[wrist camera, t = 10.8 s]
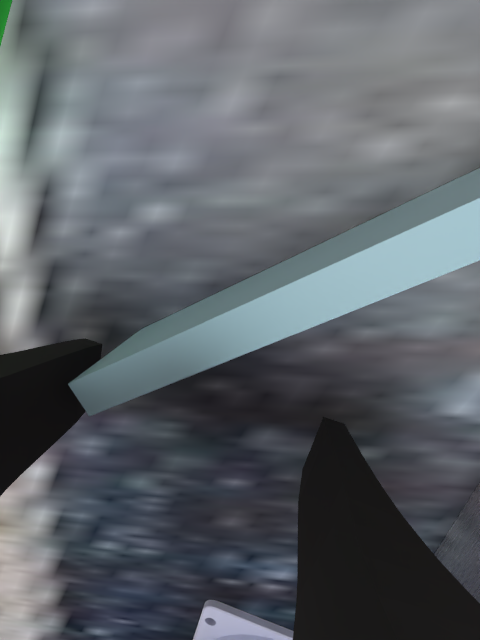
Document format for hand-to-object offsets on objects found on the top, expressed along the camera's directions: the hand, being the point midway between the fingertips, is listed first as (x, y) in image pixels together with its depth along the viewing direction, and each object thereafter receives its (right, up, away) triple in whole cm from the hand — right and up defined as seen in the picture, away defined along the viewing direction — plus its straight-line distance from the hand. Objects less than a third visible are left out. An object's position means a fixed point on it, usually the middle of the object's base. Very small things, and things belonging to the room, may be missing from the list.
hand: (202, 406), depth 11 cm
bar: (+3, +4, 0) cm, 5 cm away
